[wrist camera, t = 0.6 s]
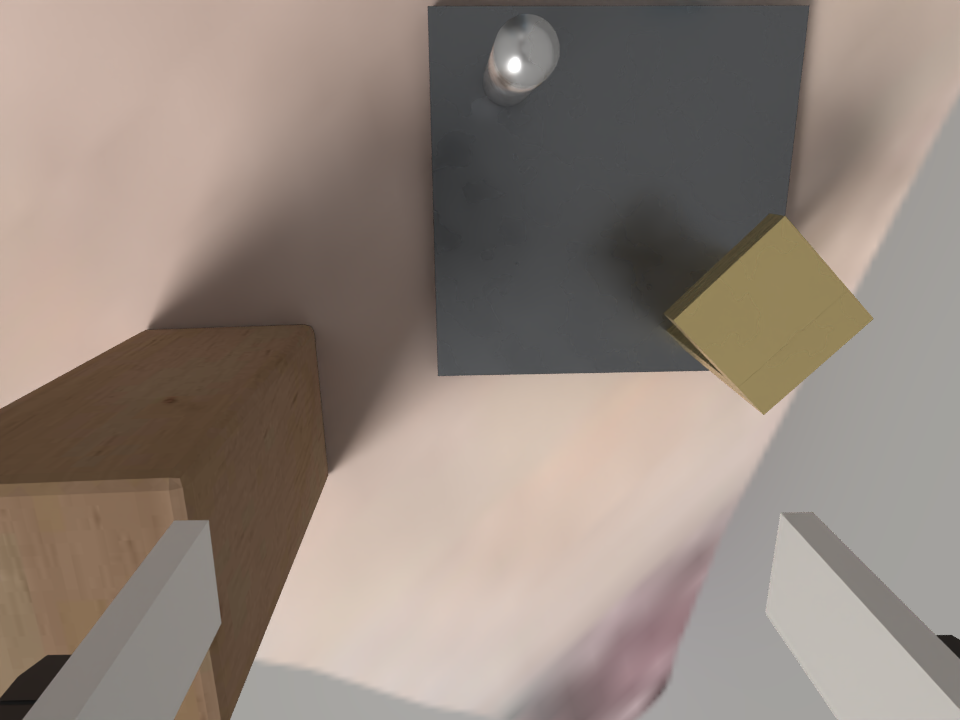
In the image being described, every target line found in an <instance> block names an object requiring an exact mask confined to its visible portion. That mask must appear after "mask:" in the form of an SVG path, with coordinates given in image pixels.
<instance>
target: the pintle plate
mask: <svg viewBox="0 0 960 720" xmlns="http://www.w3.org/2000/svg"><path fill="white" fill-rule="evenodd" d="M808 13H809V6H428V31H429V67H430V104H431V140H432V176H433V212H434V248H435V284H436V321H437V357H438V376H459V375H510V374H561V373H613V372H664V371H711V372H712V373H713V374H714V375H716V376H717V377H718V378H719V379H721V380H722V381H723V382H724V383H725V384H727V385H728V386H729V387H730V388H732V389H733V390H734V391H735V392H736V393H738V394H739V395H740V396H741V397H743V398H744V399H745V400H746V401H747V402H749V403H750V404H751V405H752V406H753V407H755V408H756V409H757V410H758V411H760V412H761V413H762V414H763V415H764V414H765V413H767V412H768V411H769V410H770V409H771V408H772V407H773V406H775V405H776V404H777V403H778V402H779V401H780V400H781V399H783V398H784V397H785V396H786V395H787V394H788V393H789V392H791V391H792V390H793V389H794V388H795V387H796V386H797V385H799V384H800V383H801V382H802V381H803V380H804V379H805V378H807V377H808V376H809V375H810V374H811V373H812V372H813V371H815V370H816V369H817V368H818V367H819V366H820V365H821V364H823V363H824V362H825V361H826V360H827V359H828V358H829V357H831V356H832V355H833V354H834V353H835V352H836V351H837V350H839V349H840V348H841V347H842V346H843V345H844V344H845V343H847V342H848V341H849V340H850V339H851V338H852V337H853V336H855V335H856V334H857V333H858V332H859V331H860V330H861V329H863V328H864V327H865V326H866V325H867V324H868V323H869V322H871V321H872V320H873V317H872V316H871V315H870V314H869V313H868V312H867V310H865V308H864V307H863V306H862V305H861V304H860V302H859V301H858V300H857V299H856V298H855V297H854V295H853V294H852V293H851V292H850V291H849V290H848V288H847V287H846V286H845V285H844V284H843V283H842V281H841V280H840V279H839V278H838V277H837V276H836V274H835V273H834V272H833V271H832V270H831V269H830V267H829V266H828V265H827V264H826V263H825V262H824V260H823V259H822V258H821V257H820V256H819V255H818V254H817V252H816V251H815V250H814V249H813V248H812V247H811V245H810V244H809V243H808V242H807V241H806V240H805V238H804V237H803V236H802V235H801V234H800V233H799V231H798V230H797V229H796V228H795V227H794V226H793V224H792V223H791V222H790V221H789V220H788V219H787V217H786V216H785V212H786V203H787V195H788V186H789V178H790V169H791V160H792V152H793V143H794V134H795V126H796V117H797V108H798V100H799V91H800V83H801V74H802V65H803V57H804V48H805V39H806V31H807V22H808Z"/></svg>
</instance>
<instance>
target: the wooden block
mask: <svg viewBox="0 0 960 720" xmlns="http://www.w3.org/2000/svg"><path fill="white" fill-rule="evenodd" d="M327 477H328V468H327V458H326V447H325V437H324V427H323V417H322V407H321V396H320V386H319V376H318V366H317V355H316V345H315V335H314V331H313V329H312V328H311V327H310V326H307V325H280V326H250V327H220V328H189V329H159V330H145V331H143V332H141V333H139V334H137V335H135V336H133V337H131V338H130V339H128V340H126V341H124V342H122V343H120V344H119V345H117V346H115V347H113V348H111V349H109V350H108V351H106V352H104V353H102V354H100V355H98V356H97V357H95V358H93V359H91V360H89V361H87V362H86V363H84V364H82V365H80V366H78V367H76V368H75V369H73V370H71V371H69V372H67V373H65V374H64V375H62V376H60V377H58V378H56V379H54V380H53V381H51V382H49V383H47V384H45V385H43V386H42V387H40V388H38V389H36V390H34V391H32V392H31V393H29V394H27V395H25V396H23V397H21V398H20V399H18V400H16V401H14V402H12V403H10V404H9V405H7V406H5V407H3V408H1V409H0V697H1V696H2V695H3V694H4V693H5V691H6V690H7V689H8V688H9V687H10V685H11V684H12V683H13V682H14V681H15V679H16V678H17V677H18V676H19V675H21V674H22V673H23V672H25V671H26V670H27V669H29V668H30V667H32V666H33V665H34V664H36V663H37V662H38V661H40V660H41V659H43V658H44V657H45V656H47V655H72V654H73V653H74V651H75V650H76V649H77V647H78V646H79V645H80V643H81V642H82V641H83V639H84V638H85V637H86V636H87V634H88V633H89V632H90V630H91V629H92V628H93V626H94V625H95V624H96V622H97V621H98V620H99V618H100V617H101V616H102V615H103V613H104V612H105V611H106V609H107V608H108V607H109V605H110V604H111V603H112V601H113V600H114V599H115V597H116V596H117V595H118V594H119V592H120V591H121V590H122V588H123V587H124V586H125V584H126V583H127V582H128V580H129V579H130V578H131V576H132V575H133V574H134V573H135V571H136V570H137V569H138V567H139V566H140V565H141V563H142V562H143V561H144V559H145V558H146V557H147V555H148V554H149V553H150V552H151V550H152V549H153V548H154V546H155V545H156V544H157V542H158V541H159V540H160V538H161V537H162V536H163V535H164V533H165V532H166V531H167V529H168V528H169V527H170V525H171V524H172V523H173V521H182V520H209V527H210V535H211V544H212V552H213V560H214V568H215V576H216V584H217V592H218V600H219V608H220V616H221V625H220V627H219V629H218V631H217V633H216V635H215V637H214V639H213V641H212V643H211V645H210V647H209V649H208V651H207V653H206V655H205V657H204V659H203V661H202V663H201V665H200V667H199V669H198V672H197V674H196V676H195V678H194V680H193V682H192V684H191V686H190V688H189V690H188V692H187V694H186V696H185V698H184V700H183V702H182V704H181V706H180V708H179V710H178V712H177V714H176V716H175V718H174V720H230V718H231V716H232V713H233V711H234V708H235V706H236V703H237V701H238V698H239V696H240V693H241V691H242V688H243V686H244V683H245V681H246V678H247V676H248V673H249V671H250V668H251V666H252V663H253V661H254V659H255V656H256V654H257V651H258V649H259V646H260V644H261V641H262V639H263V636H264V634H265V631H266V629H267V626H268V624H269V621H270V619H271V616H272V614H273V611H274V609H275V606H276V604H277V601H278V599H279V596H280V594H281V591H282V589H283V586H284V584H285V582H286V579H287V577H288V574H289V572H290V569H291V567H292V564H293V562H294V559H295V557H296V554H297V552H298V549H299V547H300V544H301V542H302V539H303V537H304V534H305V532H306V529H307V527H308V524H309V522H310V519H311V517H312V514H313V512H314V510H315V507H316V505H317V502H318V500H319V497H320V495H321V492H322V490H323V487H324V485H325V482H326V480H327Z"/></svg>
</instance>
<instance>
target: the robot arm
mask: <svg viewBox="0 0 960 720" xmlns="http://www.w3.org/2000/svg"><path fill="white" fill-rule="evenodd" d="M765 613H766V615H767V616H768V618H769V619H770V621H771V622H772V624H773V625H774V627H775V628H776V630H777V631H778V633H779V634H780V636H781V637H782V639H783V640H784V642H785V643H786V644H787V646H788V647H789V649H790V650H791V652H792V653H793V655H794V656H795V658H796V659H797V661H798V662H799V664H800V665H801V667H802V668H803V670H804V671H805V672H806V674H807V675H808V677H809V678H810V680H811V681H812V683H813V684H814V686H815V687H816V689H817V690H818V692H819V693H820V695H821V696H822V697H823V699H824V700H825V702H826V704H827V705H828V706H829V708H830V709H831V711H832V712H833V714H834V715H835V717H836V718H837V720H960V640H959V639H957V638H956V637H954V636H952V635H935V634H934V633H933V632H932V631H931V630H930V629H929V628H928V627H927V626H926V625H925V624H924V623H923V622H922V621H921V620H920V619H919V618H918V617H917V616H916V615H915V614H914V613H913V612H912V611H911V610H910V609H909V608H908V607H907V606H906V605H905V604H904V603H903V602H902V601H901V600H900V599H899V598H898V597H897V596H896V595H895V594H894V593H893V592H892V591H891V590H890V589H889V588H888V587H887V586H886V585H885V584H884V583H883V582H882V581H881V580H880V579H879V578H878V577H877V576H876V575H875V574H874V573H873V572H872V571H871V570H870V569H869V568H868V567H867V566H866V565H865V564H864V563H863V562H862V561H861V560H860V559H859V558H858V557H857V556H856V555H855V554H854V553H853V552H852V551H851V550H850V549H849V548H848V547H847V546H846V545H845V544H844V543H843V542H842V541H841V540H840V539H839V538H838V537H837V536H836V535H835V534H834V533H833V532H832V531H831V530H830V529H829V528H828V527H827V526H826V525H825V524H824V523H823V522H822V521H821V520H820V519H819V518H818V517H817V516H816V515H815V514H814V513H813V512H806V513H805V512H803V513H802V512H799V513H798V512H797V513H780V520H779V527H778V533H777V540H776V546H775V552H774V559H773V566H772V573H771V579H770V585H769V592H768V599H767V605H766V612H765ZM220 625H221V616H220V608H219V600H218V592H217V584H216V576H215V568H214V560H213V552H212V544H211V535H210V527H209V520H182V521H173V523H172V524H171V525H170V527H169V528H168V529H167V531H166V532H165V533H164V535H163V536H162V537H161V538H160V540H159V541H158V542H157V544H156V545H155V546H154V548H153V549H152V550H151V552H150V553H149V554H148V555H147V557H146V558H145V559H144V561H143V562H142V563H141V565H140V566H139V567H138V569H137V570H136V571H135V573H134V574H133V575H132V576H131V578H130V579H129V580H128V582H127V583H126V584H125V586H124V587H123V588H122V590H121V591H120V592H119V594H118V595H117V596H116V597H115V599H114V600H113V601H112V603H111V604H110V605H109V607H108V608H107V609H106V611H105V612H104V613H103V615H102V616H101V617H100V618H99V620H98V621H97V622H96V624H95V625H94V626H93V628H92V629H91V630H90V632H89V633H88V634H87V636H86V637H85V638H84V639H83V641H82V642H81V643H80V645H79V646H78V647H77V649H76V650H75V651H74V653H73V654H72V655H47V656H45V657H44V658H43V659H41V660H40V661H38V662H37V663H36V664H34V665H33V666H32V667H30V668H29V669H27V670H26V671H25V672H23V673H22V674H21V675H19V676H18V677H17V678H16V679H15V681H14V682H13V683H12V684H11V685H10V687H9V688H8V689H7V690H6V691H5V693H4V694H3V695H2V696H1V697H0V720H174V718H175V716H176V714H177V712H178V710H179V708H180V706H181V704H182V702H183V700H184V698H185V696H186V694H187V692H188V690H189V688H190V686H191V684H192V682H193V680H194V678H195V676H196V674H197V672H198V669H199V667H200V665H201V663H202V661H203V659H204V657H205V655H206V653H207V651H208V649H209V647H210V645H211V643H212V641H213V639H214V637H215V635H216V633H217V631H218V629H219V627H220Z"/></svg>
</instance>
